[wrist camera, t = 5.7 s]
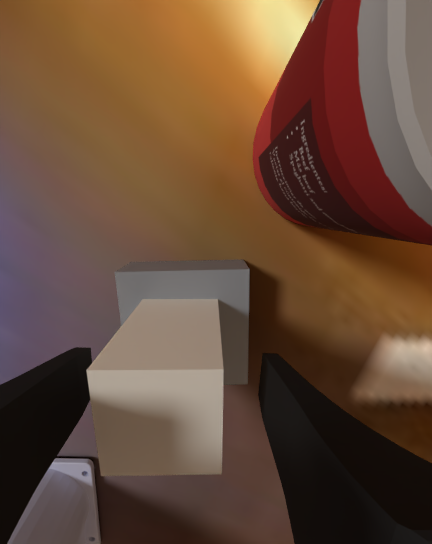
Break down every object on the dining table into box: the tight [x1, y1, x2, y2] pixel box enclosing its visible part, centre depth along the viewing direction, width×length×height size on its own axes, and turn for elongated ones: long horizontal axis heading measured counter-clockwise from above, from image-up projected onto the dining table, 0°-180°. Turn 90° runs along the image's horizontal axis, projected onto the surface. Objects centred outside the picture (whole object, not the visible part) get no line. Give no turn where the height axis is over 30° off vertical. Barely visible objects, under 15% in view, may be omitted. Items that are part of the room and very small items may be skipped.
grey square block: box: [115, 260, 250, 385], centre depth 15 cm, size 7×7×3 cm
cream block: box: [86, 299, 224, 476], centre depth 10 cm, size 4×4×6 cm
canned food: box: [253, 0, 432, 245], centre depth 8 cm, size 8×8×11 cm
